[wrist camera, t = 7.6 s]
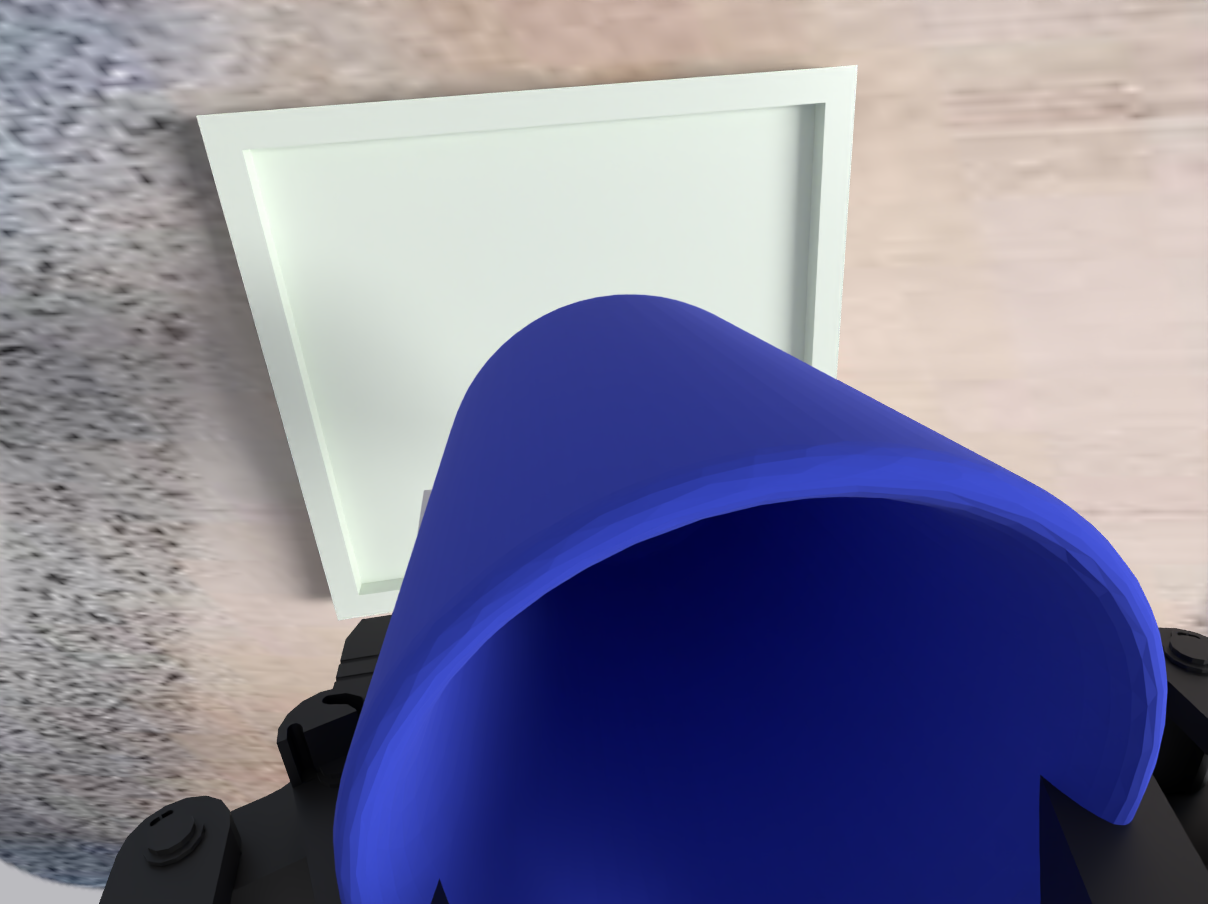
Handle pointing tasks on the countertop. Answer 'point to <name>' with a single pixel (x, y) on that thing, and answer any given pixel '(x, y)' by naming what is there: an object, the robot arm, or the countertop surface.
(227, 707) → the countertop surface
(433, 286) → the tray
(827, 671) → the mug
